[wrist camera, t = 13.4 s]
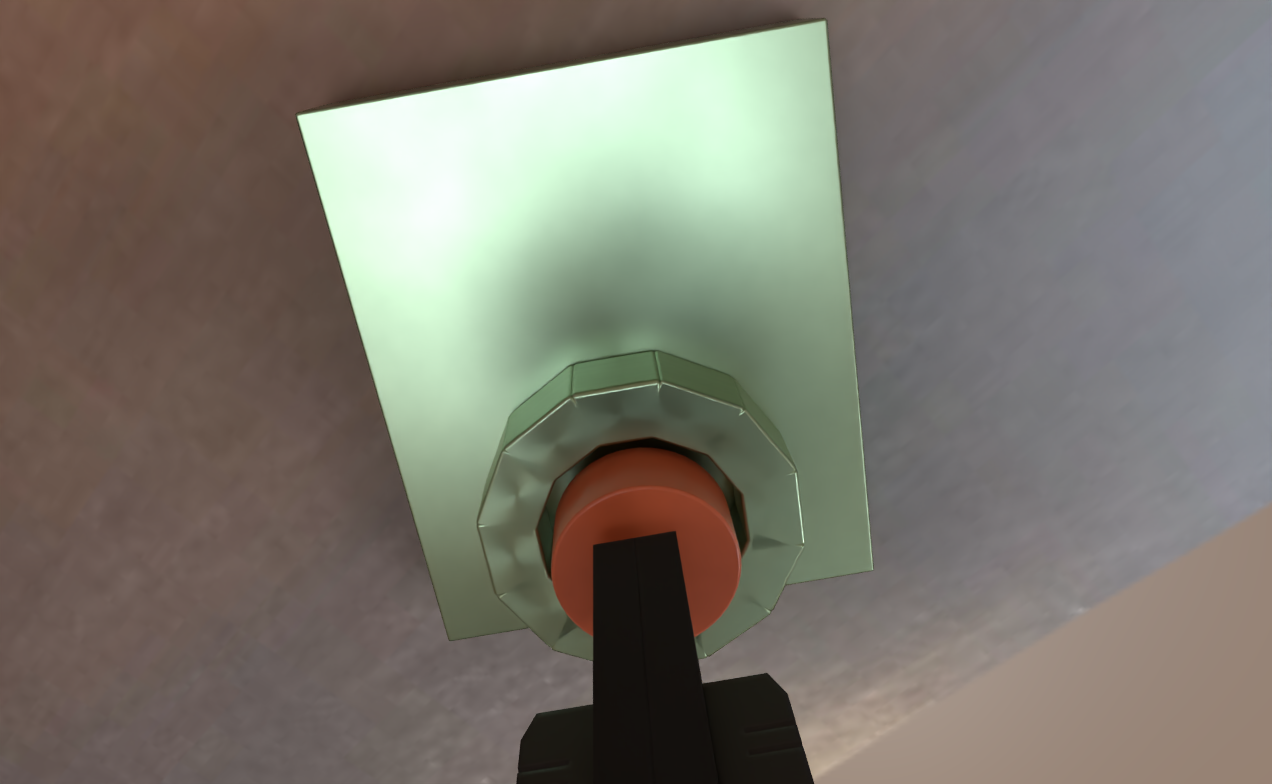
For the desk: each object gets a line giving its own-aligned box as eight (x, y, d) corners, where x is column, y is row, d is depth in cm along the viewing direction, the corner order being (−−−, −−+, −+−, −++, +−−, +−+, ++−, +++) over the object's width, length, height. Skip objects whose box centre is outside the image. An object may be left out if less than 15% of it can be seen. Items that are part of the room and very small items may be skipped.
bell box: (850, 532, 24) (899, 627, 20) (463, 597, 24) (439, 703, 20) (802, 18, 19) (853, 16, 15) (325, 104, 19) (261, 122, 16)
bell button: (739, 584, 20) (752, 634, 18) (572, 612, 20) (571, 665, 18) (716, 431, 18) (729, 471, 17) (538, 462, 18) (532, 504, 17)
